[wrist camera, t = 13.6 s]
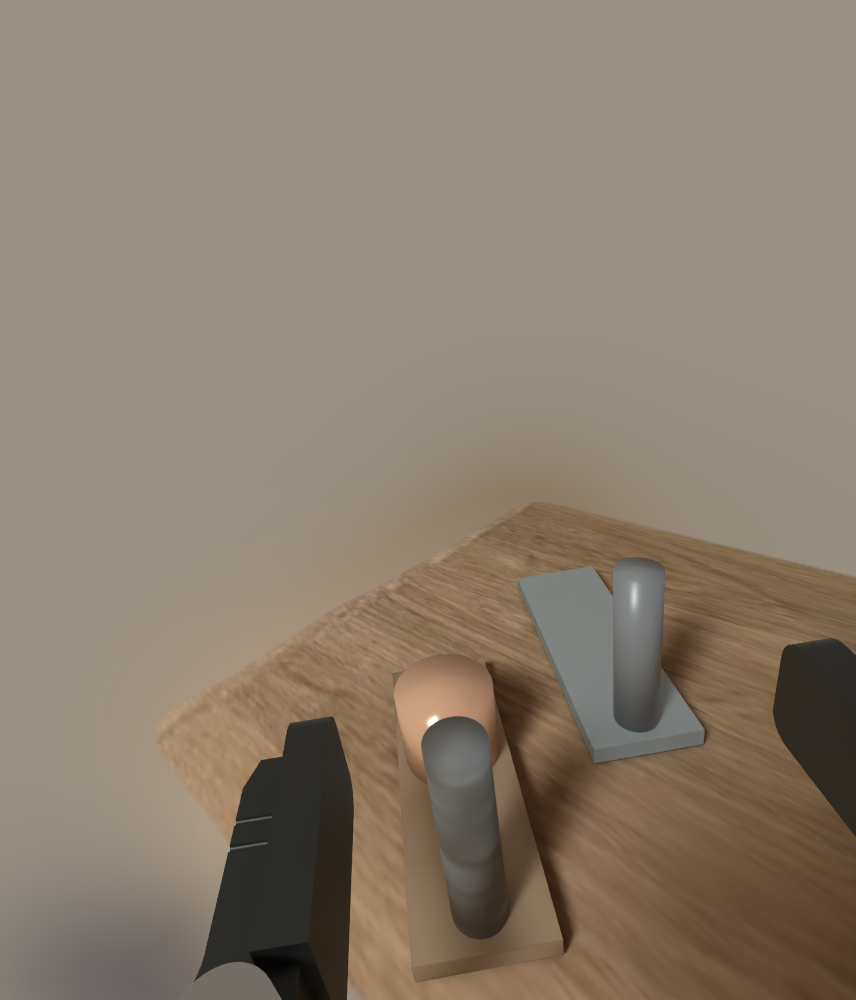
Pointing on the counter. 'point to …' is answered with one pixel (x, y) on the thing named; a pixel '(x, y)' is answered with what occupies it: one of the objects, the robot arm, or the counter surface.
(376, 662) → the counter surface
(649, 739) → the grey peg stand
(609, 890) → the counter surface
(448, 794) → the peg on wooden base
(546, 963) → the counter surface
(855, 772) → the robot arm
